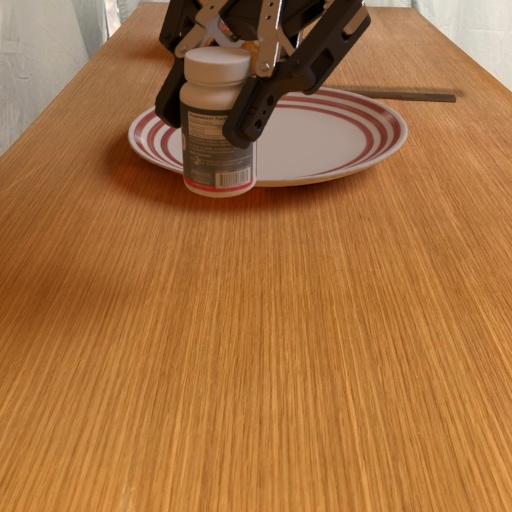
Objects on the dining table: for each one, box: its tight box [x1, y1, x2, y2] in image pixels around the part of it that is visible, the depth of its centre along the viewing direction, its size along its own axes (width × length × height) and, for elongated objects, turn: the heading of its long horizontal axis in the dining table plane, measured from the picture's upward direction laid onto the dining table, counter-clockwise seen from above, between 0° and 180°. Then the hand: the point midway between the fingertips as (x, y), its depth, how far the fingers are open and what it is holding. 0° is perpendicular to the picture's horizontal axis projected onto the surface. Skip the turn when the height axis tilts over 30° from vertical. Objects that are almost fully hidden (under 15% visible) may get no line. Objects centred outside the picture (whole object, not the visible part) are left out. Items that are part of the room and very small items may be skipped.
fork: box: [342, 89, 457, 103], centre depth 86 cm, size 17×2×1 cm, turn 83°
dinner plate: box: [127, 86, 409, 188], centre depth 69 cm, size 28×27×3 cm
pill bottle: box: [180, 46, 257, 199], centre depth 43 cm, size 5×5×8 cm
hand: (199, 130), depth 42 cm, fingers closed on pill bottle, 4 cm apart
